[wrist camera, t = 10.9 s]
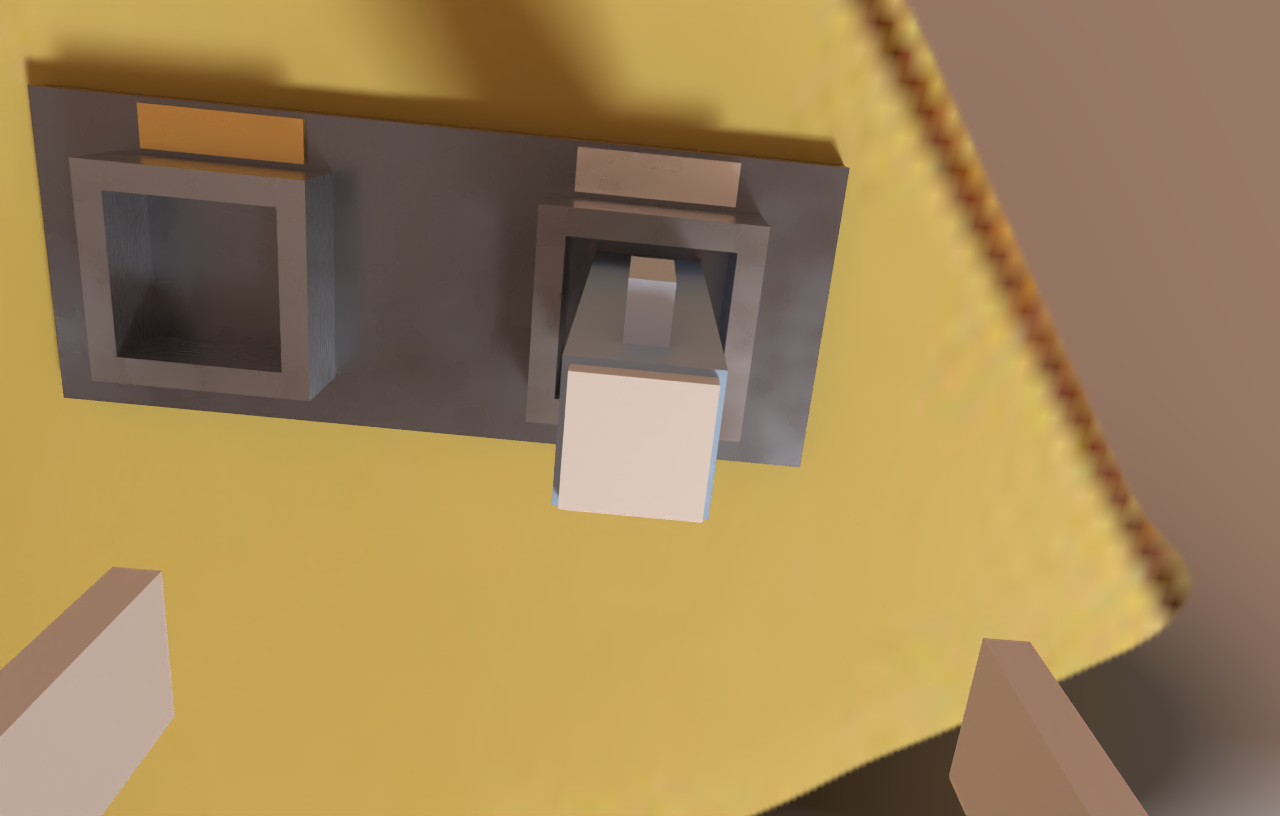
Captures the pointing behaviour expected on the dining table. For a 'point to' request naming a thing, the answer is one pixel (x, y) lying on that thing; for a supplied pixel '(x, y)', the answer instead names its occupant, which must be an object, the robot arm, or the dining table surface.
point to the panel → (405, 263)
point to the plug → (640, 392)
